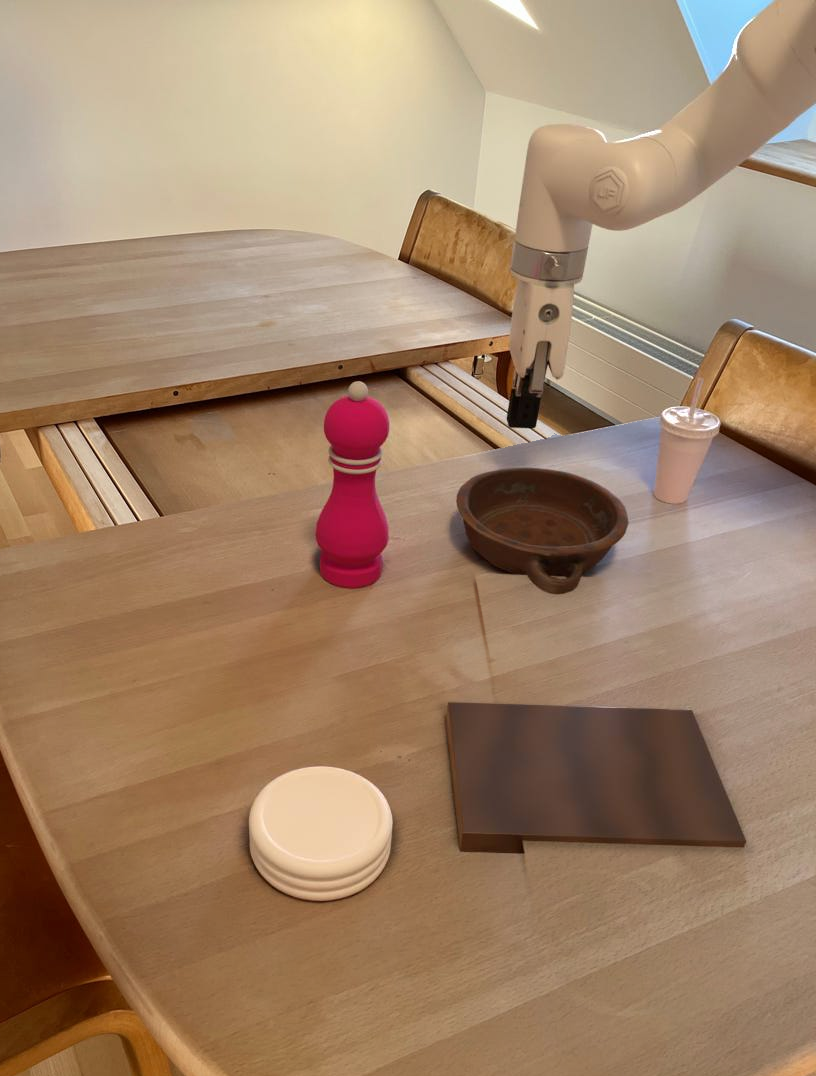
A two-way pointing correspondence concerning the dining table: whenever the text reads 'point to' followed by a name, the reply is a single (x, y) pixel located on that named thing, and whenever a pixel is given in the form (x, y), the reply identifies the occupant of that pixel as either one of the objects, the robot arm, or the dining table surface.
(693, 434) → the smoothie
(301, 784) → the coaster
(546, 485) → the dish
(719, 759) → the dining table surface
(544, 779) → the cutting board
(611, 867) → the dining table surface
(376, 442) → the pepper mill
